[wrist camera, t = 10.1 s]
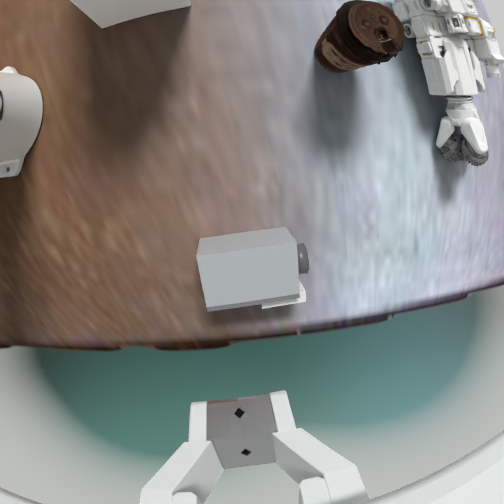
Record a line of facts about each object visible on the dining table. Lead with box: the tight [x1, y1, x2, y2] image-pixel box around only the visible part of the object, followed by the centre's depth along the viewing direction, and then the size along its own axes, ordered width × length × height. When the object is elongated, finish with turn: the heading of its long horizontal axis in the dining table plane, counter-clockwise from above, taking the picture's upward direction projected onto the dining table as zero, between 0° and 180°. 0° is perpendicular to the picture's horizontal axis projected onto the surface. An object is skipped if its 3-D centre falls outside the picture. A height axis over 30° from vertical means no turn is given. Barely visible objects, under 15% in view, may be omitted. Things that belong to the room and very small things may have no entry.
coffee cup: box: [315, 0, 405, 72], centre depth 29 cm, size 9×8×13 cm
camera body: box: [196, 227, 309, 312], centre depth 41 cm, size 14×8×7 cm, turn 96°
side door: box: [261, 280, 306, 310], centre depth 42 cm, size 6×2×5 cm, turn 96°
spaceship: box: [392, 0, 504, 166], centre depth 30 cm, size 16×35×12 cm, turn 18°
